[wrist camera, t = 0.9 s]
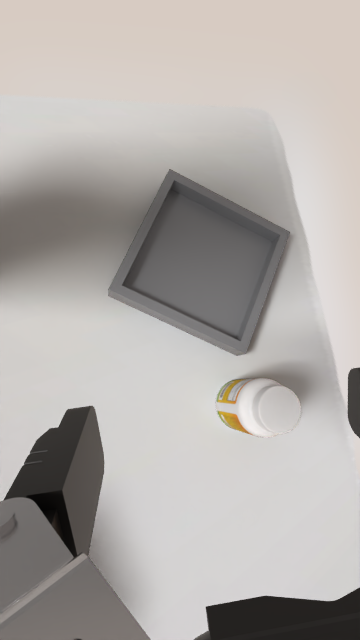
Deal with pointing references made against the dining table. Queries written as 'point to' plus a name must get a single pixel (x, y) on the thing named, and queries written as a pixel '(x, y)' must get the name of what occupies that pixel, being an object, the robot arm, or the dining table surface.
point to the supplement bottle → (258, 407)
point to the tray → (201, 264)
